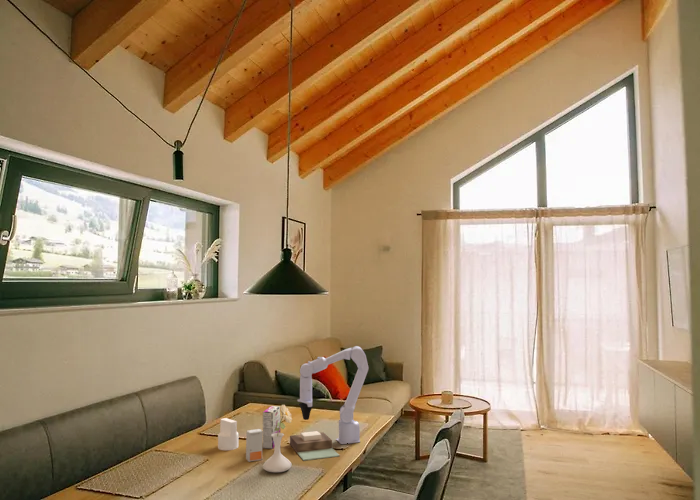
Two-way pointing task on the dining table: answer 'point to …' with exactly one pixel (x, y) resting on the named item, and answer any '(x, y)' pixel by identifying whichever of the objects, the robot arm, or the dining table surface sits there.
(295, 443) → the brown flat block
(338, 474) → the dining table surface
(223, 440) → the cylinder with rectangular tab
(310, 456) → the mat
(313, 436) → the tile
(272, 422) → the candy bar box
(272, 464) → the flower in vase
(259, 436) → the skincare box
